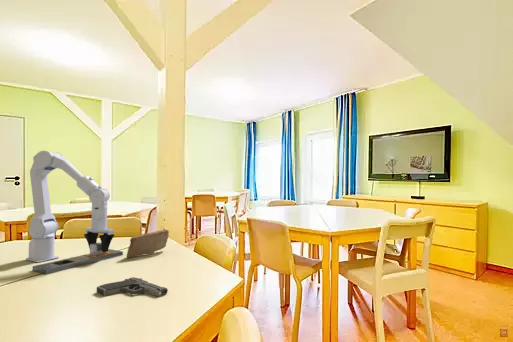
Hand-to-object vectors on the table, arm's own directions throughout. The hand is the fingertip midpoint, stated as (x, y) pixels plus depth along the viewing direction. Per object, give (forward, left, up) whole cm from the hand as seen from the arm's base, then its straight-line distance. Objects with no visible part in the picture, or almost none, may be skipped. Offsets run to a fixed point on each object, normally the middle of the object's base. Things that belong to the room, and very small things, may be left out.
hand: (98, 250), depth 122 cm
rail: (0, -7, -3) cm, 8 cm away
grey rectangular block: (0, -1, -3) cm, 3 cm away
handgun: (+45, -19, -4) cm, 49 cm away
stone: (+14, +14, -3) cm, 20 cm away
